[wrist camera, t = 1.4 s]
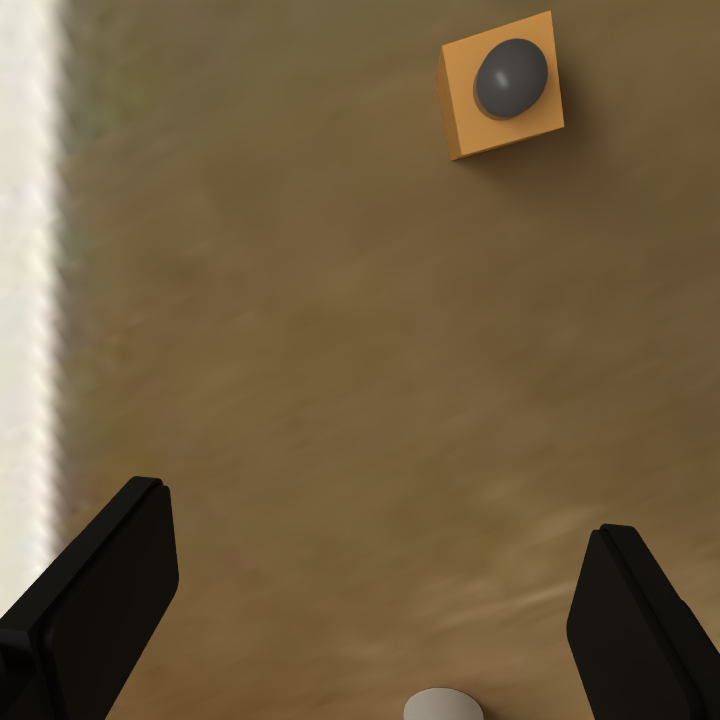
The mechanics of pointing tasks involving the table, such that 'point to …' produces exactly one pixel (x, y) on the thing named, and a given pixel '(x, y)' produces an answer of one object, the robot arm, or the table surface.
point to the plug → (500, 86)
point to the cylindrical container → (442, 706)
